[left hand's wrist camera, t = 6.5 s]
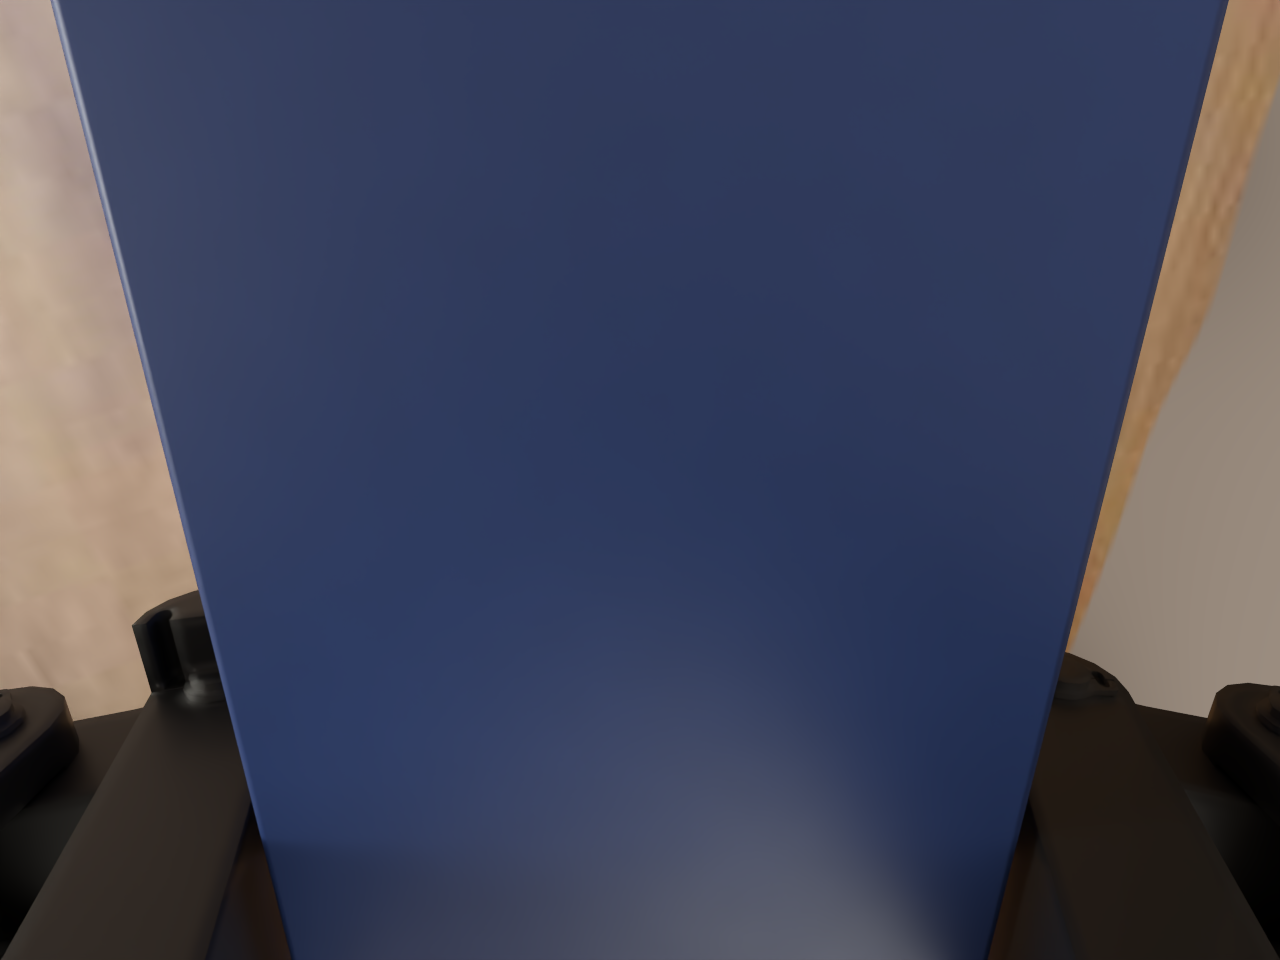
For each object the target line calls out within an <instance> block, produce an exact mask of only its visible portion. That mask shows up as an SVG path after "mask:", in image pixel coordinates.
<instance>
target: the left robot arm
mask: <svg viewBox="0 0 1280 960" xmlns="http://www.w3.org/2000/svg"><path fill="white" fill-rule="evenodd" d="M132 628H133V631H134V634H135V638H136V641H137V644H138V648H139V651H140V655H141V658H142V661H143V665H144V668H145V672H146V675H147V678H148V682H149V685H150V688H151V692H152V693H151V695H150V697H149V699H148V700H147V702H146V704H145V706H144V707H143V708H139V709H135V710H130V711H125V712H120V713H114V714H109V715H104V716H99V717H94V718H88V719H83V720H78V721H73V720H72V717H71V714H70V712H69V709H68V706H67V703H66V700H65V697H64V696H63V695H61V694H60V693H59V692H57V691H56V690H54V689H52V688H43V687H33V686H31V687H24V688H16V689H9V690H8V689H4V690H0V960H291V956H290V952H289V948H288V944H287V940H286V936H285V932H284V928H283V924H282V920H281V916H280V912H279V908H278V904H277V900H276V896H275V892H274V888H273V884H272V880H271V876H270V872H269V868H268V864H267V860H266V856H265V852H264V848H263V844H262V840H261V836H260V832H259V828H258V824H257V820H256V816H255V812H254V808H253V804H252V800H251V796H250V792H249V788H248V784H247V780H246V776H245V773H244V769H243V765H242V761H241V757H240V753H239V749H238V745H237V741H236V737H235V733H234V729H233V725H232V721H231V717H230V713H229V709H228V705H227V701H226V697H225V693H224V689H223V685H222V681H221V677H220V673H219V669H218V665H217V661H216V657H215V653H214V649H213V645H212V641H211V637H210V633H209V629H208V625H207V621H206V617H205V613H204V609H203V605H202V601H201V597H200V593H199V590H197V591H193V592H190V593H187V594H184V595H182V596H179V597H176V598H173V599H170V600H168V601H166V602H164V603H162V604H160V605H158V606H157V607H155V608H153V609H151V610H149V611H147V612H146V613H145V614H144V615H143V616H142V617H140V618H139V619H138V620H137V621H136V622H135V623H134V624H133V625H132ZM988 960H1280V686H1268V685H1261V684H1253V683H1243V684H1233V685H1227V686H1225V687H1224V688H1223V689H1221V690H1220V691H1218V692H1217V693H1216V695H1215V698H1214V701H1213V704H1212V707H1211V710H1210V712H1209V715H1208V718H1204V717H1199V716H1193V715H1188V714H1183V713H1177V712H1173V711H1167V710H1162V709H1157V708H1152V707H1146V706H1142V705H1138V704H1135V703H1134V701H1133V699H1132V697H1131V695H1130V694H1129V692H1128V691H1127V690H1126V689H1125V687H1124V686H1123V685H1122V684H1121V683H1120V682H1119V681H1118V680H1117V678H1116V677H1115V676H1113V675H1111V674H1110V673H1108V672H1107V671H1105V670H1104V669H1102V668H1101V667H1099V666H1098V665H1096V664H1094V663H1092V662H1090V661H1087V660H1085V659H1082V658H1080V657H1078V656H1075V655H1073V654H1070V653H1066V652H1065V654H1064V658H1063V662H1062V666H1061V670H1060V674H1059V678H1058V682H1057V686H1056V690H1055V694H1054V697H1053V701H1052V705H1051V709H1050V713H1049V717H1048V721H1047V725H1046V729H1045V733H1044V737H1043V741H1042V745H1041V749H1040V753H1039V757H1038V761H1037V765H1036V769H1035V773H1034V777H1033V781H1032V785H1031V789H1030V793H1029V797H1028V801H1027V805H1026V809H1025V813H1024V817H1023V821H1022V825H1021V829H1020V833H1019V837H1018V841H1017V845H1016V849H1015V853H1014V857H1013V861H1012V865H1011V869H1010V873H1009V877H1008V881H1007V885H1006V889H1005V893H1004V897H1003V901H1002V905H1001V908H1000V912H999V916H998V920H997V924H996V928H995V932H994V936H993V940H992V944H991V948H990V952H989V956H988Z"/></svg>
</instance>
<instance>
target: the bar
mask: <svg viewBox="0 0 1280 960" xmlns="http://www.w3.org/2000/svg"><path fill="white" fill-rule="evenodd" d="M1228 1H1229V0H51V4H52V8H53V12H54V16H55V20H56V24H57V28H58V32H59V36H60V40H61V44H62V48H63V52H64V56H65V60H66V64H67V68H68V72H69V76H70V80H71V84H72V88H73V92H74V96H75V100H76V104H77V108H78V112H79V116H80V120H81V124H82V127H83V131H84V135H85V139H86V143H87V147H88V151H89V155H90V159H91V163H92V167H93V171H94V175H95V179H96V183H97V187H98V191H99V195H100V199H101V203H102V207H103V211H104V215H105V219H106V223H107V227H108V231H109V235H110V239H111V243H112V247H113V251H114V255H115V259H116V263H117V267H118V271H119V275H120V279H121V283H122V287H123V291H124V295H125V299H126V303H127V307H128V311H129V315H130V319H131V323H132V327H133V331H134V335H135V339H136V342H137V346H138V350H139V354H140V358H141V362H142V366H143V370H144V374H145V378H146V382H147V386H148V390H149V394H150V398H151V402H152V406H153V410H154V414H155V418H156V422H157V426H158V430H159V434H160V438H161V442H162V446H163V450H164V454H165V458H166V462H167V466H168V470H169V474H170V478H171V482H172V486H173V490H174V494H175V498H176V502H177V506H178V510H179V514H180V518H181V522H182V526H183V530H184V534H185V538H186V542H187V546H188V550H189V554H190V558H191V561H192V565H193V569H194V573H195V577H196V581H197V585H198V589H199V593H200V597H201V601H202V605H203V609H204V613H205V617H206V621H207V625H208V629H209V633H210V637H211V641H212V645H213V649H214V653H215V657H216V661H217V665H218V669H219V673H220V677H221V681H222V685H223V689H224V693H225V697H226V701H227V705H228V709H229V713H230V717H231V721H232V725H233V729H234V733H235V737H236V741H237V745H238V749H239V753H240V757H241V761H242V765H243V769H244V773H245V776H246V780H247V784H248V788H249V792H250V796H251V800H252V804H253V808H254V812H255V816H256V820H257V824H258V828H259V832H260V836H261V840H262V844H263V848H264V852H265V856H266V860H267V864H268V868H269V872H270V876H271V880H272V884H273V888H274V892H275V896H276V900H277V904H278V908H279V912H280V916H281V920H282V924H283V928H284V932H285V936H286V940H287V944H288V948H289V952H290V956H291V960H988V956H989V952H990V948H991V944H992V940H993V936H994V932H995V928H996V924H997V920H998V916H999V912H1000V908H1001V905H1002V901H1003V897H1004V893H1005V889H1006V885H1007V881H1008V877H1009V873H1010V869H1011V865H1012V861H1013V857H1014V853H1015V849H1016V845H1017V841H1018V837H1019V833H1020V829H1021V825H1022V821H1023V817H1024V813H1025V809H1026V805H1027V801H1028V797H1029V793H1030V789H1031V785H1032V781H1033V777H1034V773H1035V769H1036V765H1037V761H1038V757H1039V753H1040V749H1041V745H1042V741H1043V737H1044V733H1045V729H1046V725H1047V721H1048V717H1049V713H1050V709H1051V705H1052V701H1053V697H1054V694H1055V690H1056V686H1057V682H1058V678H1059V674H1060V670H1061V666H1062V662H1063V658H1064V654H1065V650H1066V646H1067V642H1068V638H1069V634H1070V630H1071V626H1072V622H1073V618H1074V614H1075V610H1076V606H1077V602H1078V598H1079V594H1080V590H1081V586H1082V582H1083V578H1084V574H1085V570H1086V566H1087V562H1088V558H1089V554H1090V550H1091V546H1092V542H1093V538H1094V534H1095V530H1096V526H1097V522H1098V518H1099V514H1100V510H1101V506H1102V502H1103V498H1104V494H1105V490H1106V486H1107V483H1108V479H1109V475H1110V471H1111V467H1112V463H1113V459H1114V455H1115V451H1116V447H1117V443H1118V439H1119V435H1120V431H1121V427H1122V423H1123V419H1124V415H1125V411H1126V407H1127V403H1128V399H1129V395H1130V391H1131V387H1132V383H1133V379H1134V375H1135V371H1136V367H1137V363H1138V359H1139V355H1140V351H1141V347H1142V343H1143V339H1144V335H1145V331H1146V327H1147V323H1148V319H1149V315H1150V311H1151V307H1152V303H1153V299H1154V295H1155V291H1156V287H1157V283H1158V279H1159V275H1160V272H1161V268H1162V264H1163V260H1164V256H1165V252H1166V248H1167V244H1168V240H1169V236H1170V232H1171V228H1172V224H1173V220H1174V216H1175V212H1176V208H1177V204H1178V200H1179V196H1180V192H1181V188H1182V184H1183V180H1184V176H1185V172H1186V168H1187V164H1188V160H1189V156H1190V152H1191V148H1192V144H1193V140H1194V136H1195V132H1196V128H1197V124H1198V120H1199V116H1200V112H1201V108H1202V104H1203V100H1204V96H1205V92H1206V88H1207V84H1208V80H1209V76H1210V72H1211V68H1212V64H1213V61H1214V57H1215V53H1216V49H1217V45H1218V41H1219V37H1220V33H1221V29H1222V25H1223V21H1224V17H1225V13H1226V9H1227V5H1228Z"/></svg>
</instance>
